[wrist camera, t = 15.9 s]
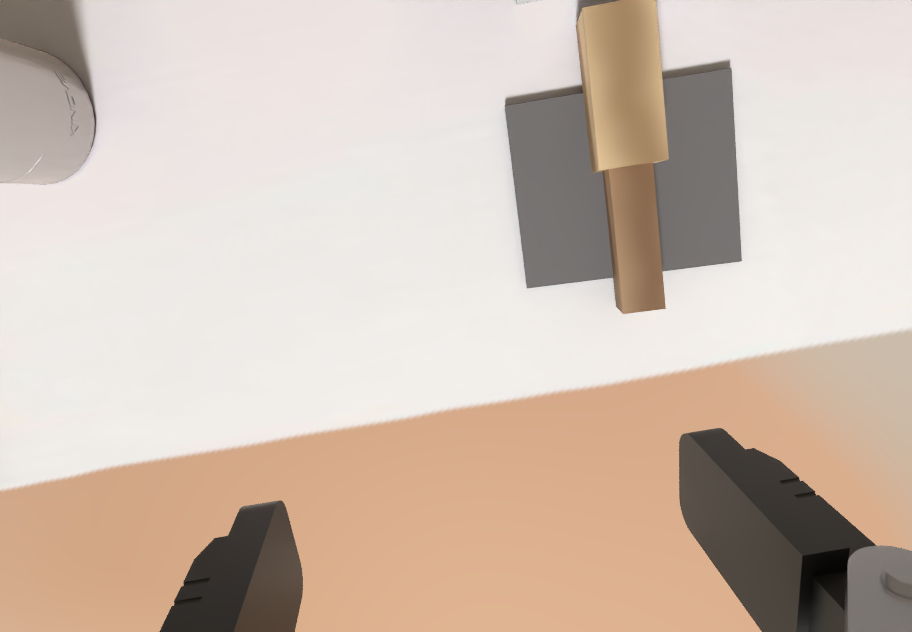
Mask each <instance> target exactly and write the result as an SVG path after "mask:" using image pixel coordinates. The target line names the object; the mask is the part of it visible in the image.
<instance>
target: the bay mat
mask: <svg viewBox="0 0 912 632" xmlns="http://www.w3.org/2000/svg"><path fill="white" fill-rule="evenodd" d="M662 81H663V93H664V106H665V118H666V130H667V143H668V155H669V159H668V160H664V161H661V162H657V163H653V169H654V181H655V192H656V204H657V215H658V227H659V239H660V250H661V262H662V271H668V270H676V269H684V268H692V267H700V266H708V265H716V264H724V263H731V262H739V261H742V259H741V241H740V222H739V203H738V184H737V166H736V147H735V128H734V109H733V90H732V72H731V68H728V69H722V70H716V71H710V72H705V73H699V74H693V75H687V76H681V77H675V78H669V79H663V80H662ZM505 112H506V120H507V128H508V136H509V145H510V153H511V161H512V169H513V177H514V185H515V194H516V202H517V210H518V218H519V226H520V235H521V243H522V251H523V259H524V267H525V276H526V284H527V288H534V287H541V286H549V285H557V284H565V283H573V282H581V281H589V280H597V279H605V278H613V270H612V260H611V250H610V240H609V231H608V221H607V211H606V201H605V191H604V181H603V172H602V171H601V172H595V173H591V163H590V154H589V144H588V135H587V125H586V115H585V106H584V96H583V93H579V94H573V95H567V96H561V97H555V98H549V99H543V100H537V101H531V102H525V103H519V104H513V105H507V106H505Z"/></svg>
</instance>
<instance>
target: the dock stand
mask: <svg viewBox="0 0 912 632" xmlns="http://www.w3.org/2000/svg"><path fill="white" fill-rule="evenodd" d="M533 1H538V0H516V4H522V3H528V2H533Z"/></svg>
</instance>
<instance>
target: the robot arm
mask: <svg viewBox="0 0 912 632" xmlns="http://www.w3.org/2000/svg"><path fill="white" fill-rule="evenodd" d="M94 125H95V121H94V114H93V108H92V105H91V102H90V99H89V96H88V93H87V91H86V89H85V88H84V86H83V84H82V82H81V81H80V79H79V78H78V77H77V76H76V74H75V73H74V72H73V71H72V70H71V68H69V67H68V66H67V65H66V64H65V63H63V62H62V61H61V60H60V59H58V58H56V57H54V56H52V55H50V54H48V53H46V52H43V51H40V50H37V49H34V48H30V47H27V46H24V45H21V44H18V43H15V42H12V41H8V40H5V39H2V38H0V183H14V184H44V185H45V184H51V183H57V182H59V181H62V180H64V179H66V178H68V177H70V176H71V175H72V174H73V173H75V172H76V171H77V170H78V169H79V168H80V167H81V165H82V164H83V163H84V162H85V160H86V158H87V156H88V154H89V152H90V150H91V147H92V142H93V138H94ZM679 468H680V469H679V480H680V482H679V484H680V485H679V487H680V488H679V490H680V506H681V510H682V514H683V517H684V520H685V522H686V525H687V527H688V528H689V530H690V531H691V533H692V534H693V536H694V537H695V539H696V540H697V541H698V543H699V544H700V546H701V547H702V548H703V550H704V551H705V553H706V554H707V555H708V557H709V558H710V560H711V561H712V562H713V564H714V565H715V567H716V568H717V569H718V571H719V572H720V574H721V575H722V576H723V578H724V579H725V580H726V582H727V583H728V585H729V586H730V588H731V589H732V590H733V592H734V593H735V595H736V596H737V597H738V599H739V600H740V602H741V603H742V604H743V606H744V607H745V608H746V610H747V611H748V613H749V614H750V616H751V617H752V618H753V620H754V621H755V622H756V624H757V625H758V627H759V628H760V630H761V631H762V632H912V551H909V550H906V549H902V548H897V547H892V546H876V545H875V544H874V543H873V542H872V541H871V540H869V539H868V538H867V537H866V536H865V535H864V534H862V533H861V532H860V531H859V530H858V529H857V528H856V527H855V526H853V525H852V524H851V523H850V522H849V521H848V520H847V519H845V518H844V517H843V516H842V515H841V514H840V513H839V512H838V511H836V510H835V509H834V508H833V507H832V506H831V505H829V504H828V503H827V502H826V501H825V500H824V499H823V498H822V497H820V496H819V495H817V496H816V494H815V491H814V490H813V489H811V488H810V487H809V486H808V485H807V484H806V483H804V482H803V481H800V480H799V477H798V476H797V475H795V474H794V473H793V472H792V471H791V470H790V469H788V468H787V467H786V466H785V465H784V464H783V463H782V462H781V461H779V460H777V459H775V458H773V457H770V456H768V455H767V454H765V453H762V452H760V451H758V450H756V449H754V448H752V449H746V450H745V449H744V448H743V447H742V446H741V445H740V444H739V443H738V442H737V441H736V440H734V438H732V437H731V436H730V435H729V434H728V433H727V432H726V431H725V430H724V429H721V428H717V429H710V430H704V431H698V432H691V433H685V434H683V435H682V436H681V438H680V442H679ZM302 590H303V577H302V568H301V563H300V559H299V555H298V552H297V547H296V544H295V540H294V537H293V533H292V529H291V525H290V521H289V518H288V513H287V510H286V507H285V505H284V503H283V502H282V501H275V502H268V503H262V504H256V505H249V506H243V507H241V508H240V510H239V512H238V514H237V516H236V519H235V521H234V524H233V526H232V528H231V531H230V533H229V535H228V536H225V537H219V538H215V539H214V540H213V541H212V542H211V543H210V544H209V545H208V546H207V547H206V548H205V549H204V550H203V551H202V552H201V553H200V554H199V555H198V556H197V557H196V558H195V559H194V561H193V563H192V566H191V568H190V570H189V572H188V574H187V576H186V578H185V580H184V586H183V587H181V588H180V591H179V593H178V595H177V597H176V599H175V601H174V603H175V604H174V606H172V607H171V609H170V611H169V613H168V615H167V618H166V619H165V621H164V624H163V626H162V628H161V630H160V632H295V627H296V623H297V617H298V613H299V609H300V604H301V599H302Z"/></svg>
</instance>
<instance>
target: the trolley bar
mask: <svg viewBox="0 0 912 632" xmlns="http://www.w3.org/2000/svg"><path fill="white" fill-rule="evenodd" d="M576 30H577V39H578V49H579V58H580V68H581V77H582V87H583V96H584V106H585V115H586V125H587V135H588V144H589V154H590V163H591V173H595V172H601V171H602V172H603V181H604V191H605V201H606V211H607V221H608V231H609V240H610V250H611V260H612V270H613V280H614V290H615V299H616V307H617V308H618V309H619V310H620V311H621V312H622V313H623V314H626V313H634V312H642V311H650V310H658V309H666V308H665V297H664V285H663V274H662V262H661V250H660V239H659V227H658V215H657V204H656V192H655V181H654V169H653V163H657V162H661V161H664V160H668V159H669V155H668V143H667V130H666V118H665V106H664V93H663V81H662V69H661V56H660V44H659V32H658V19H657V7H656V0H619V1H614V2H609V3H604V4H598V5H593V6H588V7H583V8H582V10H581V13H580V16H579V19H578V22H577V25H576Z"/></svg>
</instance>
